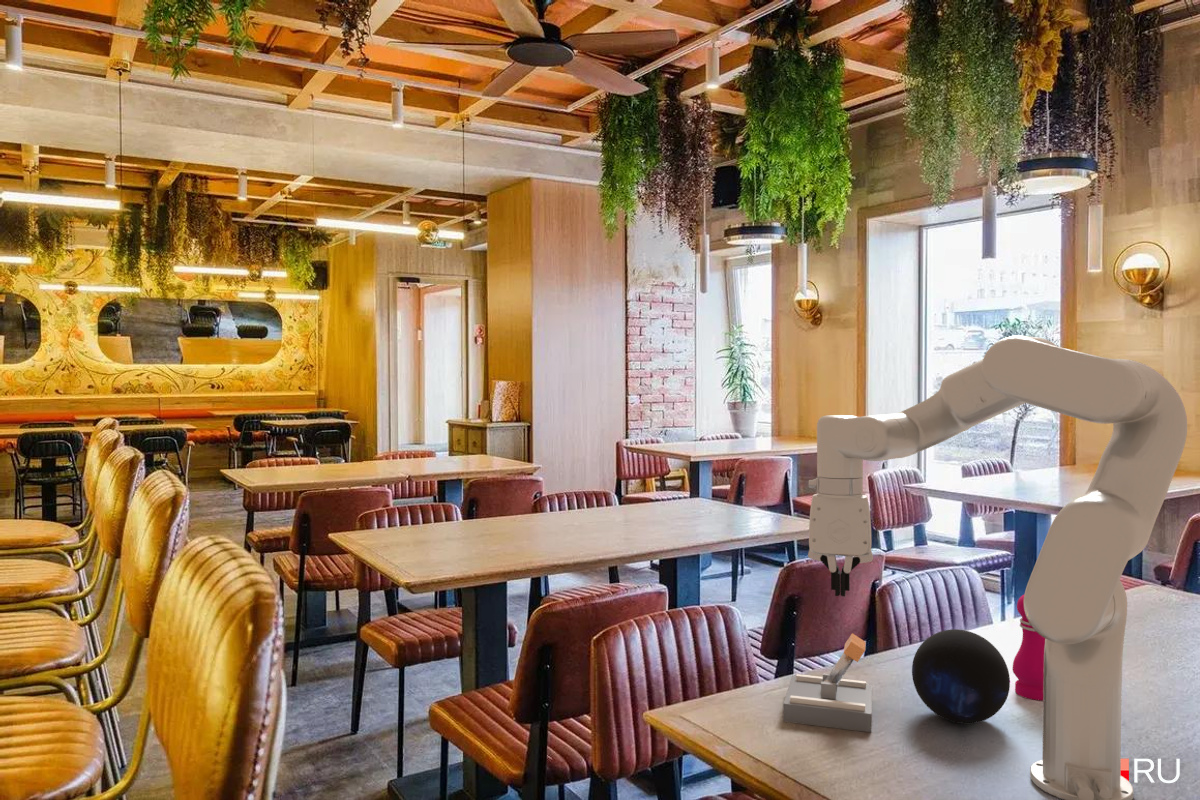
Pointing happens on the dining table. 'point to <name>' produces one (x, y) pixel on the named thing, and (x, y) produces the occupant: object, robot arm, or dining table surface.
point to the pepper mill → (1029, 659)
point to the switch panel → (829, 703)
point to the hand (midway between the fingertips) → (840, 594)
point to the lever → (847, 658)
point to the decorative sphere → (960, 676)
